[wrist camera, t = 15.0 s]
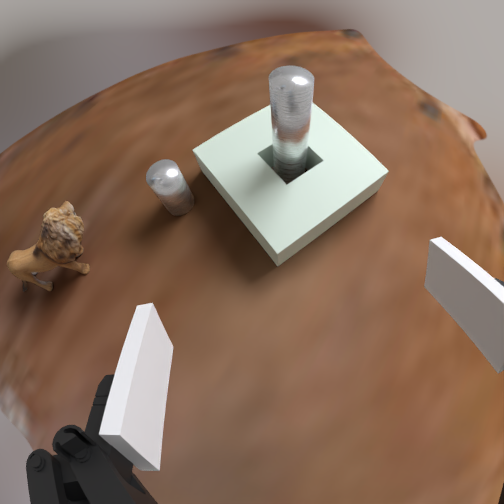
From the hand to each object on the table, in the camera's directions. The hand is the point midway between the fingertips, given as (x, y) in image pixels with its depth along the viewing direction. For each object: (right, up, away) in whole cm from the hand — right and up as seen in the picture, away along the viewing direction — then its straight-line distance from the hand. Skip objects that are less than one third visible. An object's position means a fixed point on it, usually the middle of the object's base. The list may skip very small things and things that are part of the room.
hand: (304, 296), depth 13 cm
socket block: (+2, +10, +19) cm, 21 cm away
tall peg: (+2, +10, +19) cm, 21 cm away
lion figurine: (-25, 0, +18) cm, 31 cm away
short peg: (-10, +7, +19) cm, 23 cm away
